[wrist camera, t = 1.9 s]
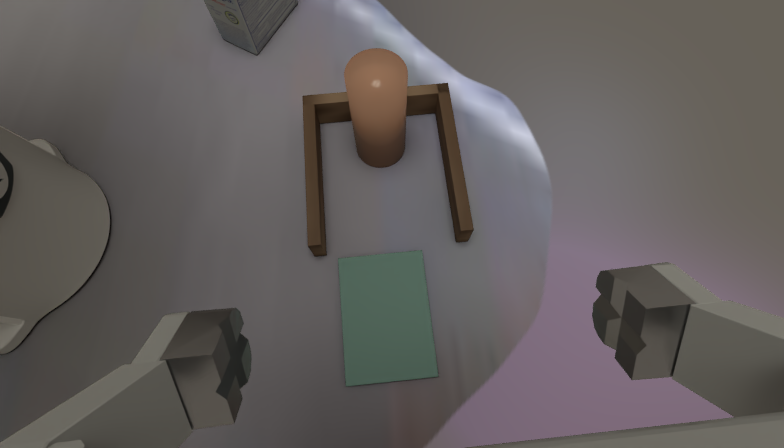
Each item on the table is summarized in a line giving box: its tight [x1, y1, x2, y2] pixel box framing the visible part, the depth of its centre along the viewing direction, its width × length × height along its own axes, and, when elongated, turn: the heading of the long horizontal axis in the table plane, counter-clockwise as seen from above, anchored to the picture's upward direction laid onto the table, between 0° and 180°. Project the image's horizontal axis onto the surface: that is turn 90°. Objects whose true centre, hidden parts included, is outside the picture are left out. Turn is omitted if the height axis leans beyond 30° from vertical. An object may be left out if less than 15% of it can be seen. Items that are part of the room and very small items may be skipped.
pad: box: [338, 250, 438, 386], centre depth 35 cm, size 7×10×1 cm
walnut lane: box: [303, 83, 474, 256], centre depth 38 cm, size 13×14×3 cm
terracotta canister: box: [344, 48, 408, 168], centre depth 36 cm, size 4×4×10 cm
